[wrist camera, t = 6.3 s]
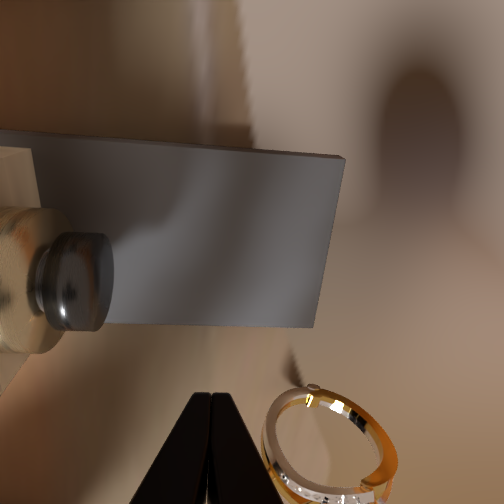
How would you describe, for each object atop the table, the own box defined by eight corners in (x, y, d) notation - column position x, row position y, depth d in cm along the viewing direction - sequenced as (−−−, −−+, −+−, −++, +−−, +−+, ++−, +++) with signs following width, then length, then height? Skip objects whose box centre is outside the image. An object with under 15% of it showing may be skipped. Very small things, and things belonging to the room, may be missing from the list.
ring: (370, 377, 22) (440, 516, 15) (352, 412, 24) (409, 556, 16) (264, 362, 21) (285, 505, 14) (251, 400, 23) (265, 549, 15)
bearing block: (-209, 302, 17) (-516, 457, 10) (-317, 104, 14) (-929, 128, 6) (309, 317, 20) (357, 448, 13) (339, 155, 16) (430, 212, 9)
